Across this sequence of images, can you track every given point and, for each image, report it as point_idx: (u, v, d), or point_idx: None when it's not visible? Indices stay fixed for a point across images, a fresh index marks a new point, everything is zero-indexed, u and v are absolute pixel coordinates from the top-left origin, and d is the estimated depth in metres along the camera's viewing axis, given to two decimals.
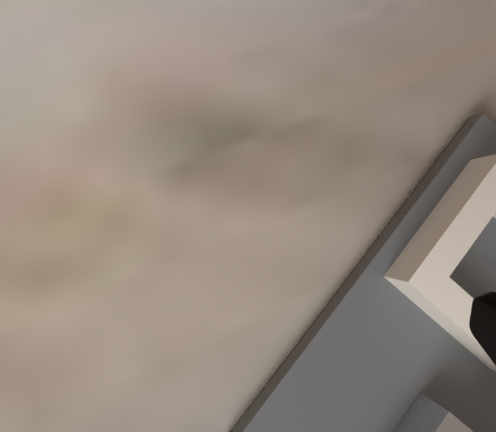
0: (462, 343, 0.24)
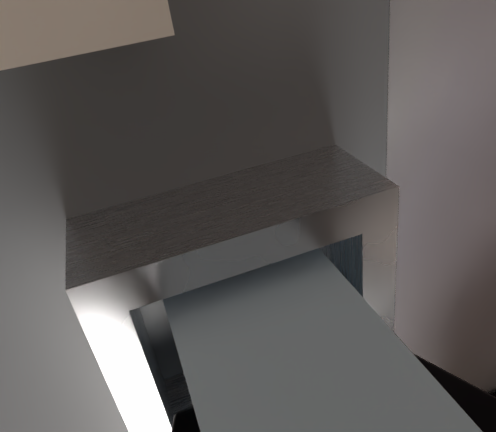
0: None
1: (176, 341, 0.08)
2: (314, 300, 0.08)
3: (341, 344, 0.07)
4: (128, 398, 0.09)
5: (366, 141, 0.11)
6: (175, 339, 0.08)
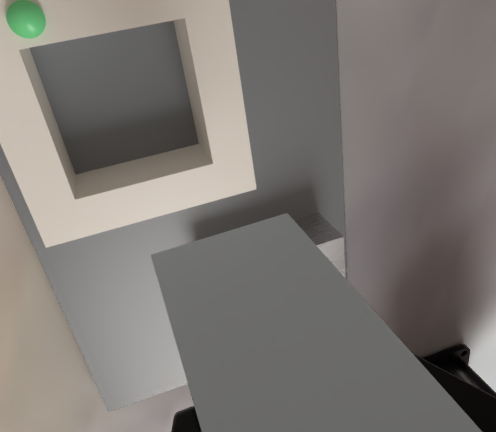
0: None
1: (178, 343, 0.08)
2: (315, 302, 0.08)
3: (343, 346, 0.07)
4: None
5: (334, 210, 0.23)
6: (177, 341, 0.08)
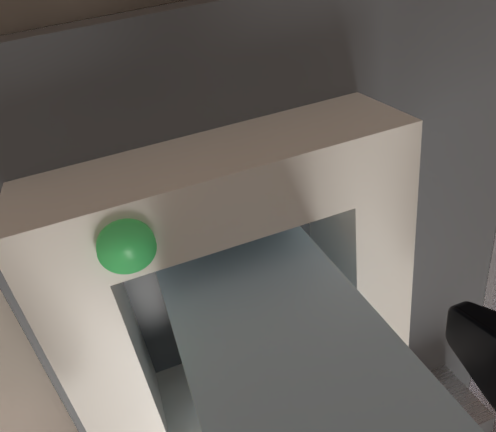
0: None
1: (172, 323, 0.08)
2: (304, 284, 0.09)
3: (328, 324, 0.08)
4: None
5: None
6: (171, 321, 0.08)
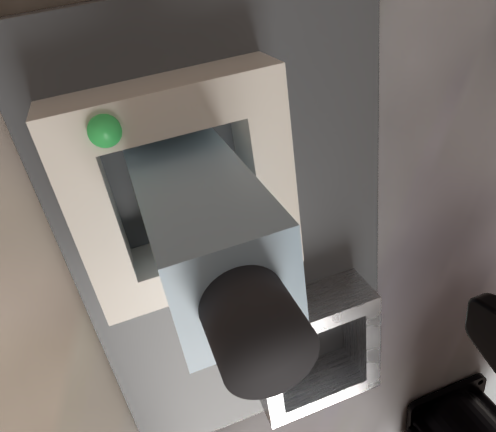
0: None
1: (132, 180, 0.14)
2: (212, 161, 0.15)
3: (220, 175, 0.14)
4: None
5: (367, 265, 0.24)
6: (131, 179, 0.14)
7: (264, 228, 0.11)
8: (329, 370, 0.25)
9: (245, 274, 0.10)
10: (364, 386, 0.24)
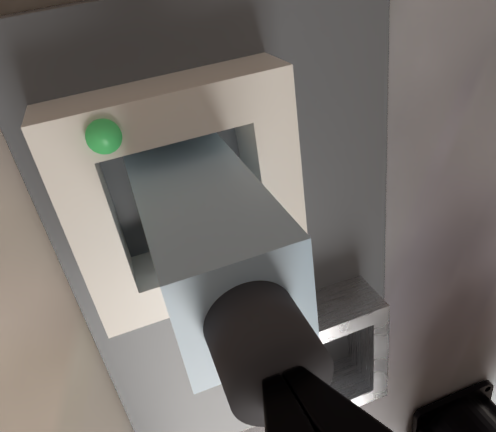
0: None
1: (132, 188, 0.14)
2: (217, 167, 0.14)
3: (225, 183, 0.13)
4: None
5: (374, 272, 0.23)
6: (132, 187, 0.14)
7: (273, 241, 0.10)
8: (334, 380, 0.24)
9: (253, 291, 0.10)
10: (371, 396, 0.23)
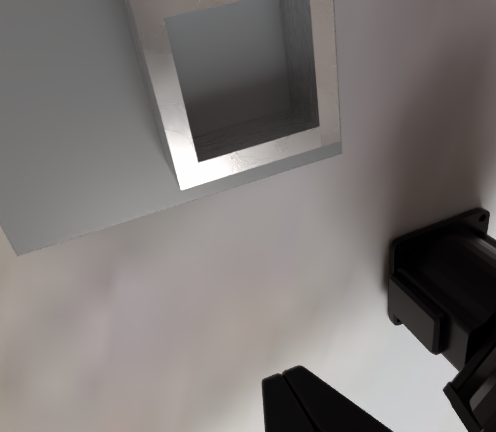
0: None
1: None
2: None
3: None
4: (163, 93, 0.14)
5: None
6: None
7: None
8: (268, 125, 0.17)
9: None
10: (317, 137, 0.17)
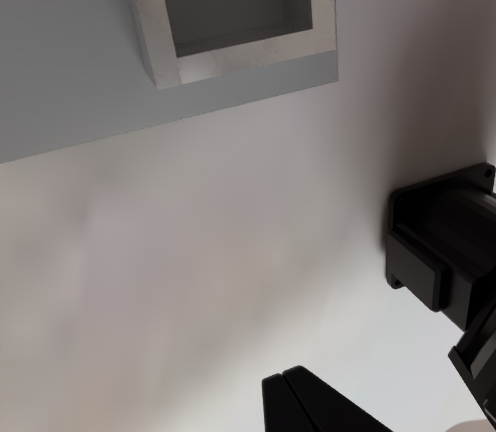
0: None
1: None
2: None
3: None
4: None
5: None
6: None
7: None
8: (257, 32, 0.16)
9: None
10: (310, 42, 0.15)
